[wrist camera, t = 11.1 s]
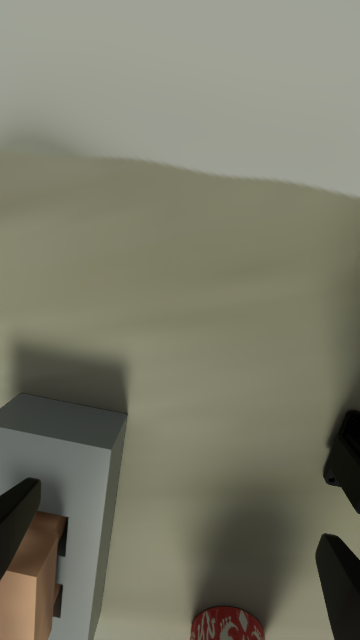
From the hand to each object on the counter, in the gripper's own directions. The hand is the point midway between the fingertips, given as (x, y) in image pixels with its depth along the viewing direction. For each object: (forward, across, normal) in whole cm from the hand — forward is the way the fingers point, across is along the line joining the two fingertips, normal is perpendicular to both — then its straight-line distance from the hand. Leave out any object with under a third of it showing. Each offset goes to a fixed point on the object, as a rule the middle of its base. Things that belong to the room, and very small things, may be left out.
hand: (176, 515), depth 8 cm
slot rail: (+12, +9, +17) cm, 23 cm away
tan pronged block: (+11, +9, +17) cm, 22 cm away
